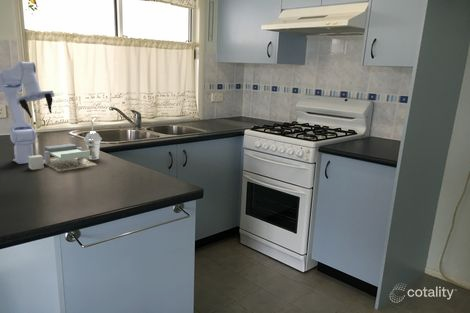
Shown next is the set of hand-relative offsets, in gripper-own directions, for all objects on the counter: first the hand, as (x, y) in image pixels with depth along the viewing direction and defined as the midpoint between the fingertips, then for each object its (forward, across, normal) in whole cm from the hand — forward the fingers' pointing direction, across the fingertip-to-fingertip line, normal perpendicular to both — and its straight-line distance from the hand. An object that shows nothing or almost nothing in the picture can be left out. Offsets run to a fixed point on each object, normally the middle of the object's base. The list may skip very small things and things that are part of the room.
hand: (40, 114), depth 159 cm
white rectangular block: (+14, -9, +22) cm, 28 cm away
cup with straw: (+12, +16, +35) cm, 40 cm away
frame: (+14, +4, +27) cm, 31 cm away
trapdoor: (+11, +4, +26) cm, 29 cm away
